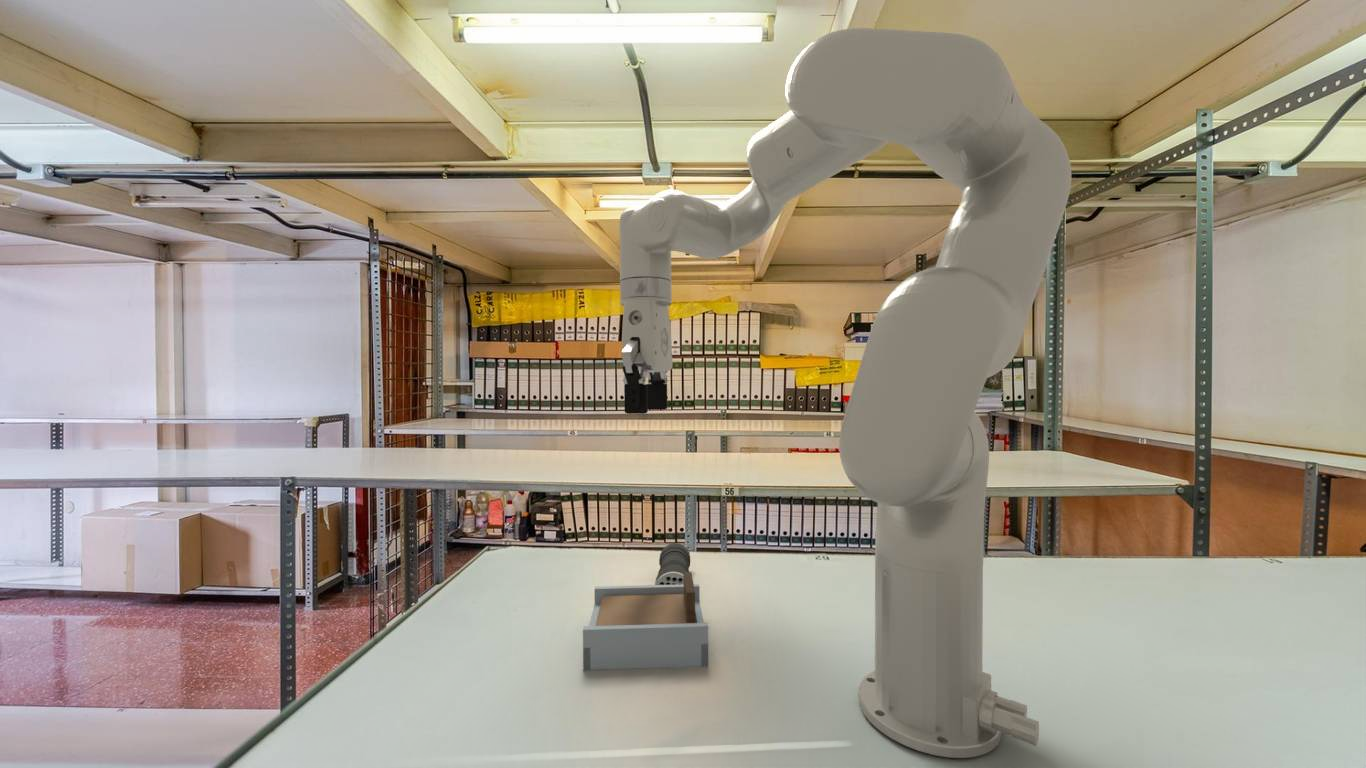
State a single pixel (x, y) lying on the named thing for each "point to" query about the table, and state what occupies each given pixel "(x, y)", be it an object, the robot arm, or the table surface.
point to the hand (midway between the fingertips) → (647, 411)
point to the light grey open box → (644, 637)
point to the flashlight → (673, 564)
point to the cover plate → (649, 608)
